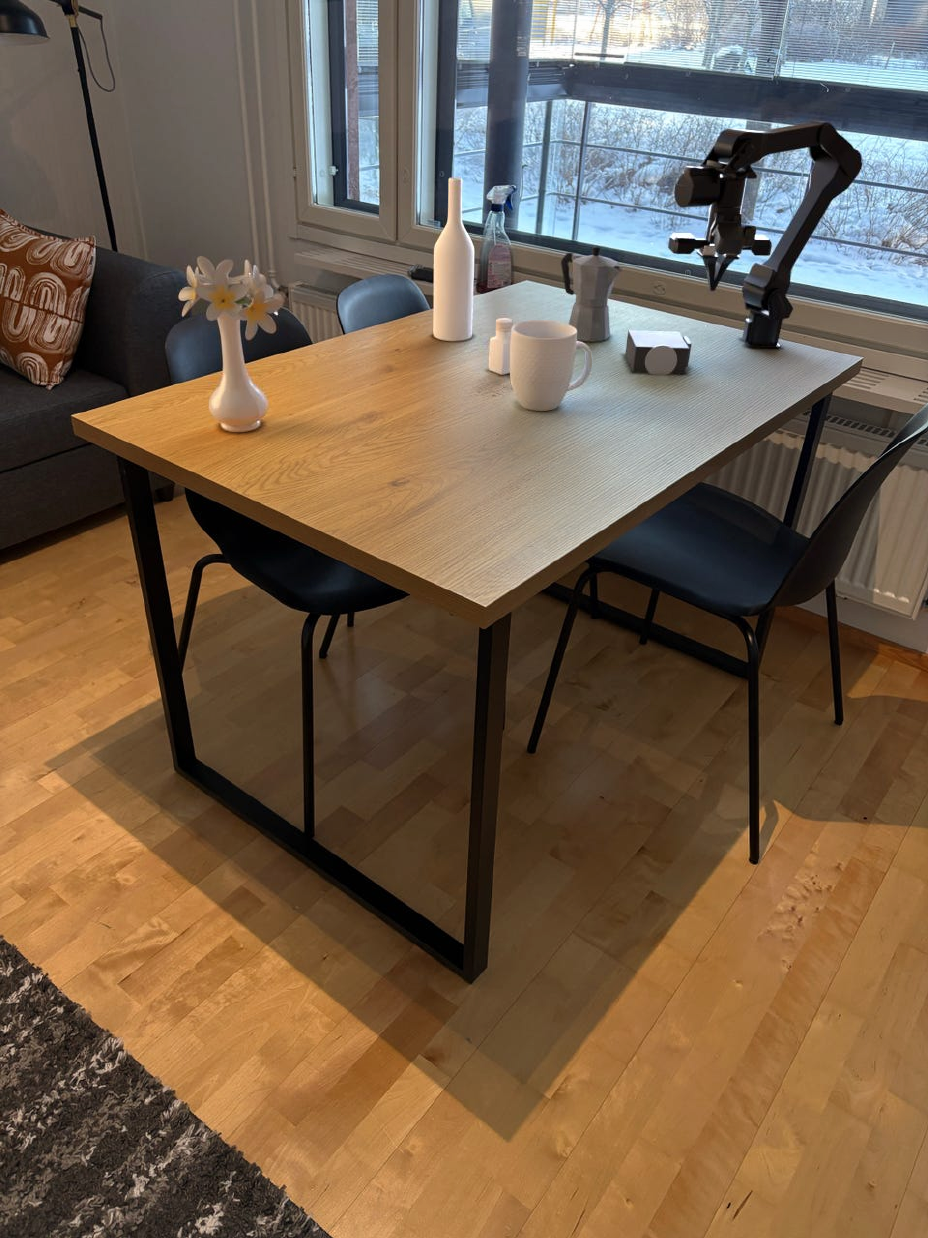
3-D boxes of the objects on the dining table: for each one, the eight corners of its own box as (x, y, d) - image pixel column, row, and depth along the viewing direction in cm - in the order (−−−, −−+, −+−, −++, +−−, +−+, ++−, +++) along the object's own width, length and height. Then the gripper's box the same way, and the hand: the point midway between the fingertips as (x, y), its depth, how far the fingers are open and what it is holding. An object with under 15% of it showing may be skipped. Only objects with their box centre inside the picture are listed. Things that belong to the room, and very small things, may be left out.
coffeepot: (626, 338, 192) (637, 248, 182) (598, 347, 186) (608, 254, 176) (570, 322, 201) (578, 235, 191) (542, 330, 195) (548, 241, 185)
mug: (573, 389, 164) (580, 316, 157) (601, 410, 156) (610, 333, 149) (497, 397, 160) (501, 322, 153) (522, 419, 151) (527, 340, 144)
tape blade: (683, 359, 179) (686, 335, 177) (687, 367, 175) (691, 343, 173) (634, 357, 179) (637, 334, 177) (637, 365, 175) (641, 342, 173)
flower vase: (255, 452, 137) (237, 281, 123) (175, 423, 146) (149, 260, 132) (315, 427, 146) (304, 265, 132) (236, 401, 155) (218, 246, 141)
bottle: (425, 336, 189) (426, 178, 172) (448, 328, 195) (450, 173, 178) (457, 343, 185) (460, 182, 169) (479, 335, 191) (484, 178, 174)
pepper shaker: (501, 376, 169) (504, 324, 164) (487, 370, 172) (489, 319, 167) (517, 371, 172) (520, 321, 166) (502, 366, 174) (505, 316, 169)
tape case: (674, 358, 182) (679, 328, 179) (684, 377, 173) (690, 345, 170) (624, 357, 182) (628, 327, 179) (632, 375, 173) (636, 344, 170)
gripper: (686, 211, 164) (673, 300, 172) (788, 213, 164) (770, 302, 173) (673, 201, 173) (662, 285, 182) (770, 203, 174) (754, 287, 182)
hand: (711, 290), depth 179 cm, fingers closed
